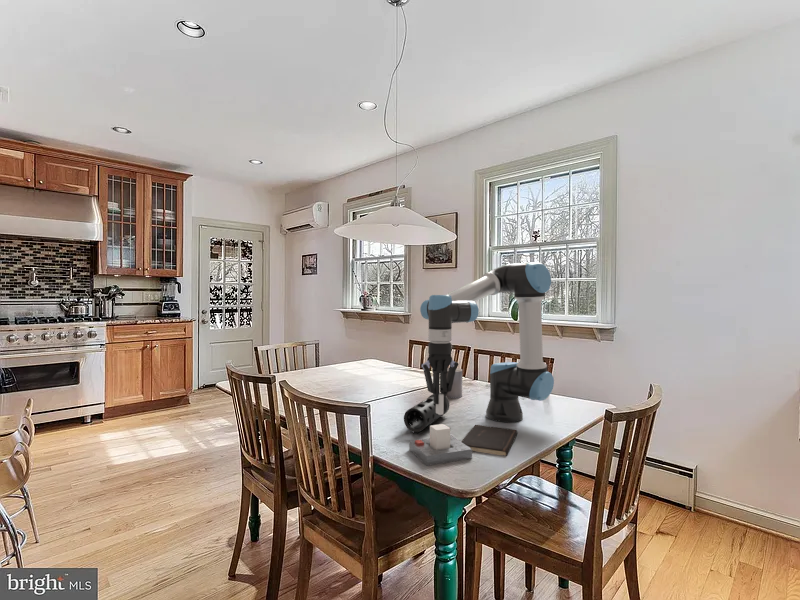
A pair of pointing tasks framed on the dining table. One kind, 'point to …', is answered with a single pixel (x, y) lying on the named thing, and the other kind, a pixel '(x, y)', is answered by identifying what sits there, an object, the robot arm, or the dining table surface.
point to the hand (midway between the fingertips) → (439, 413)
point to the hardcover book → (490, 439)
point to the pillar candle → (456, 385)
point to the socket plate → (440, 451)
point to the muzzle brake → (423, 414)
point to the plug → (439, 437)
